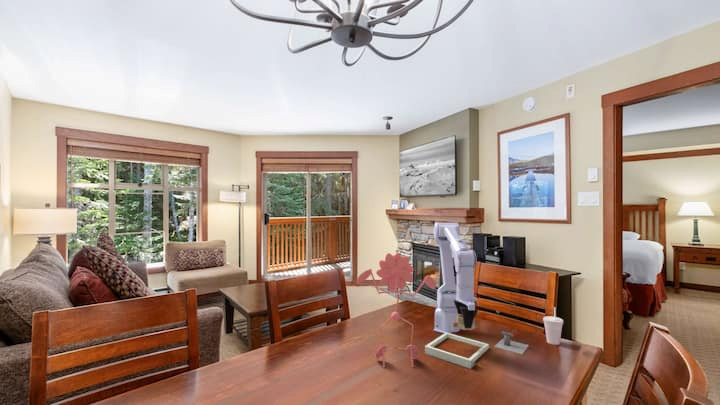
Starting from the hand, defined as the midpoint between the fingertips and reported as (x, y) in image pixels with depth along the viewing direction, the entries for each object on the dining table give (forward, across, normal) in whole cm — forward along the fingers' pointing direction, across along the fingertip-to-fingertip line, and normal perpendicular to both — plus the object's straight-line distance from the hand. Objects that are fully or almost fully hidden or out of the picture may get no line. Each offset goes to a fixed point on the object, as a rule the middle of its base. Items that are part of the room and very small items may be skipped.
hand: (465, 324), depth 114 cm
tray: (+9, -1, +3) cm, 10 cm away
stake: (+9, +2, -17) cm, 20 cm away
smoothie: (+10, +6, -33) cm, 35 cm away
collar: (+1, 0, 0) cm, 1 cm away
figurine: (+10, -5, +25) cm, 27 cm away
